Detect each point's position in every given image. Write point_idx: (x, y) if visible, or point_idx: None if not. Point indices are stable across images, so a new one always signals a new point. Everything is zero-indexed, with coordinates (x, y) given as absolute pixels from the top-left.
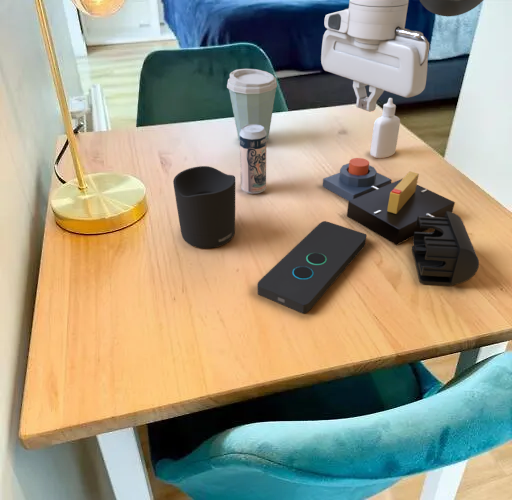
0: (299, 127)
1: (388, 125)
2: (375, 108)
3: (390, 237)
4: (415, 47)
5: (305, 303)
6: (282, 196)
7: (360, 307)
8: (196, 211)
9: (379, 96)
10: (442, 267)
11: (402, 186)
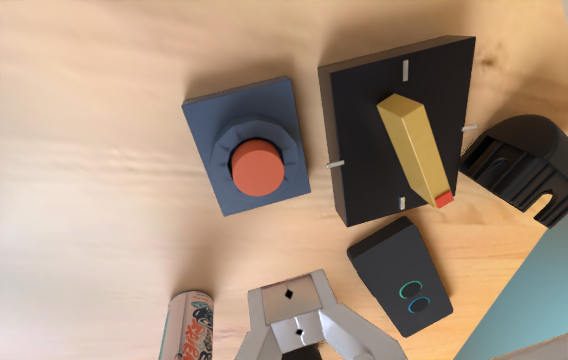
0: None
1: None
2: (322, 270)
3: None
4: None
5: (451, 311)
6: (232, 272)
7: (473, 262)
8: None
9: (364, 321)
10: (543, 194)
11: (437, 177)
